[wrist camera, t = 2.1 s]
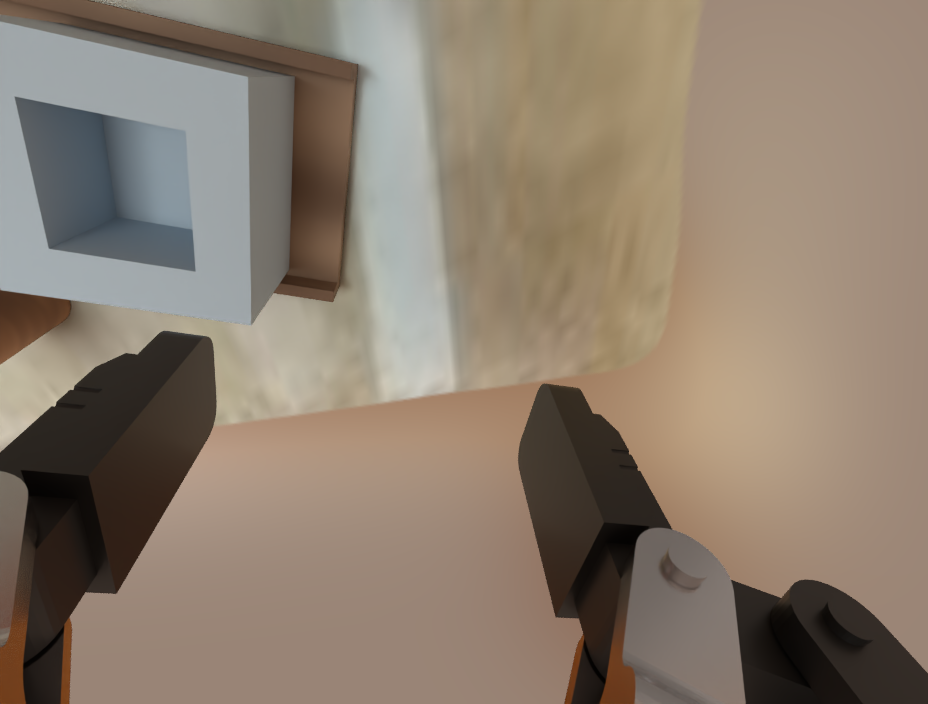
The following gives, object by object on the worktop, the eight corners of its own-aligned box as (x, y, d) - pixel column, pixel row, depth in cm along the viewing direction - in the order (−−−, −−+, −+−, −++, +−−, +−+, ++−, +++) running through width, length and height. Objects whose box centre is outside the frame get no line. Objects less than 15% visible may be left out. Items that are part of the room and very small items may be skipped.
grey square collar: (64, 23, 19) (-83, 2, 14) (294, 76, 21) (247, 77, 15) (100, 238, 24) (0, 290, 18) (289, 269, 25) (251, 325, 19)
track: (-298, -92, 18) (-673, -179, 12) (358, 64, 22) (333, 60, 16) (-169, 205, 23) (-380, 252, 17) (339, 286, 27) (315, 347, 21)
